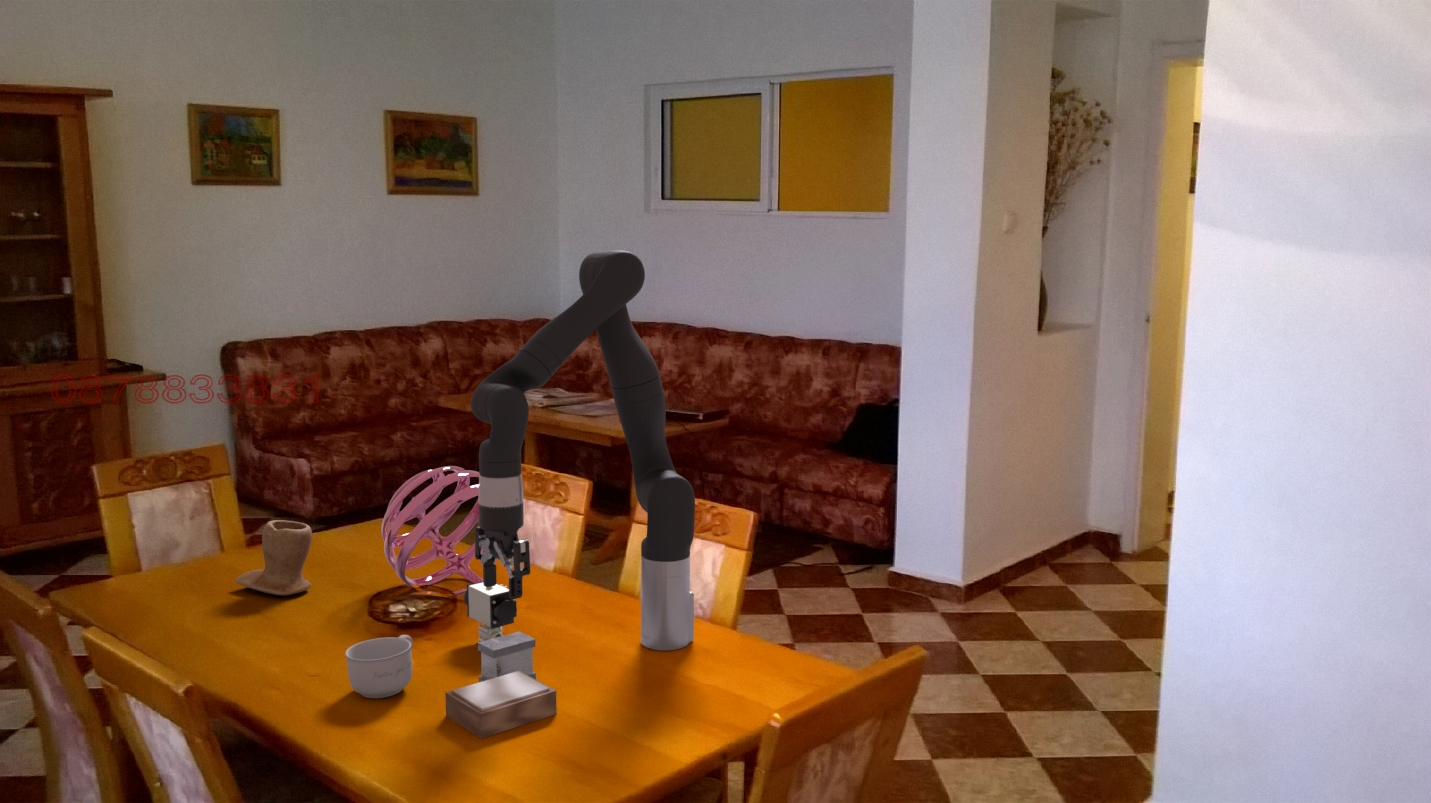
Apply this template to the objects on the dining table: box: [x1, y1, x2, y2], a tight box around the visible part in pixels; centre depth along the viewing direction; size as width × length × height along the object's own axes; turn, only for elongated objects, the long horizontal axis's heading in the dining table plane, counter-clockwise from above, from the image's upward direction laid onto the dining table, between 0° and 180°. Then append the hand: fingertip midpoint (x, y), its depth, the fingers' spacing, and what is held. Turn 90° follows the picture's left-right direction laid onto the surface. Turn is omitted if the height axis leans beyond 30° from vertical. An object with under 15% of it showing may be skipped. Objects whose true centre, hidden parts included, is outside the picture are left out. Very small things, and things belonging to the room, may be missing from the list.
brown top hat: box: [235, 519, 313, 596], centre depth 251 cm, size 15×12×15 cm
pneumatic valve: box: [463, 581, 518, 642], centre depth 222 cm, size 6×12×12 cm, turn 42°
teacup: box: [344, 634, 414, 699], centre depth 200 cm, size 14×11×8 cm
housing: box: [477, 630, 537, 683], centre depth 203 cm, size 8×5×8 cm, turn 132°
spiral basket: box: [381, 465, 484, 597], centre depth 252 cm, size 28×28×27 cm
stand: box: [444, 671, 558, 739], centre depth 190 cm, size 14×11×4 cm
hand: (502, 591), depth 202 cm, fingers open, 8 cm apart
